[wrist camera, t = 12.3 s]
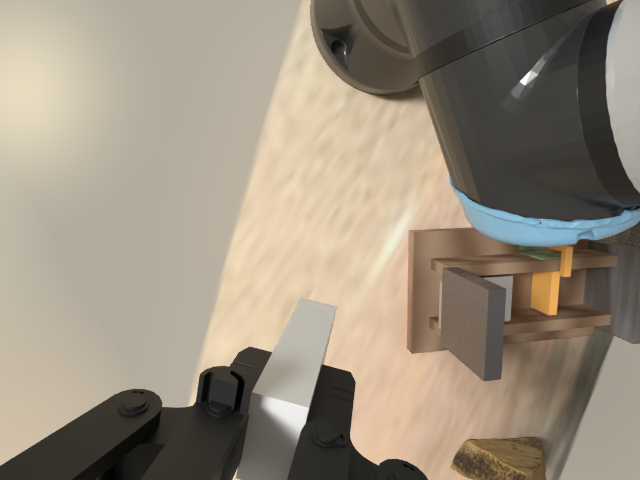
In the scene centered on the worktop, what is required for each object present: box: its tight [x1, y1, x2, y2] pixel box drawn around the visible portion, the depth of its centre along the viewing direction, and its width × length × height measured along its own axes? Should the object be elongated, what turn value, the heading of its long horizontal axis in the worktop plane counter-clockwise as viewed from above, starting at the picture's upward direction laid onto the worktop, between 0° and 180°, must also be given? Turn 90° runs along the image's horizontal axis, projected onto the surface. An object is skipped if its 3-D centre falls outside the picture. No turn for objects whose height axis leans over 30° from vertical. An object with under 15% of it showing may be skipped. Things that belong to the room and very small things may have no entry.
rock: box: [451, 437, 546, 480], centre depth 51 cm, size 11×9×10 cm
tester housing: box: [407, 228, 640, 354], centre depth 46 cm, size 24×14×8 cm, turn 91°
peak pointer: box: [531, 245, 573, 315], centre depth 46 cm, size 1×8×5 cm, turn 1°
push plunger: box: [438, 267, 513, 381], centre depth 41 cm, size 8×8×12 cm
